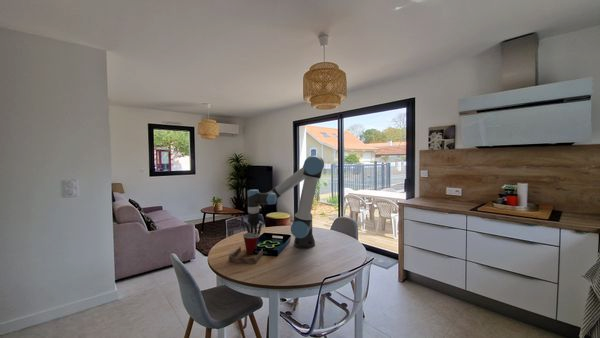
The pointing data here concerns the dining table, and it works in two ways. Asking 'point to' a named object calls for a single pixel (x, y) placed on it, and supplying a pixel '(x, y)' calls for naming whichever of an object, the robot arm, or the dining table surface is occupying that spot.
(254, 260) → the frame
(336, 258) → the dining table surface
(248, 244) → the plastic cup
